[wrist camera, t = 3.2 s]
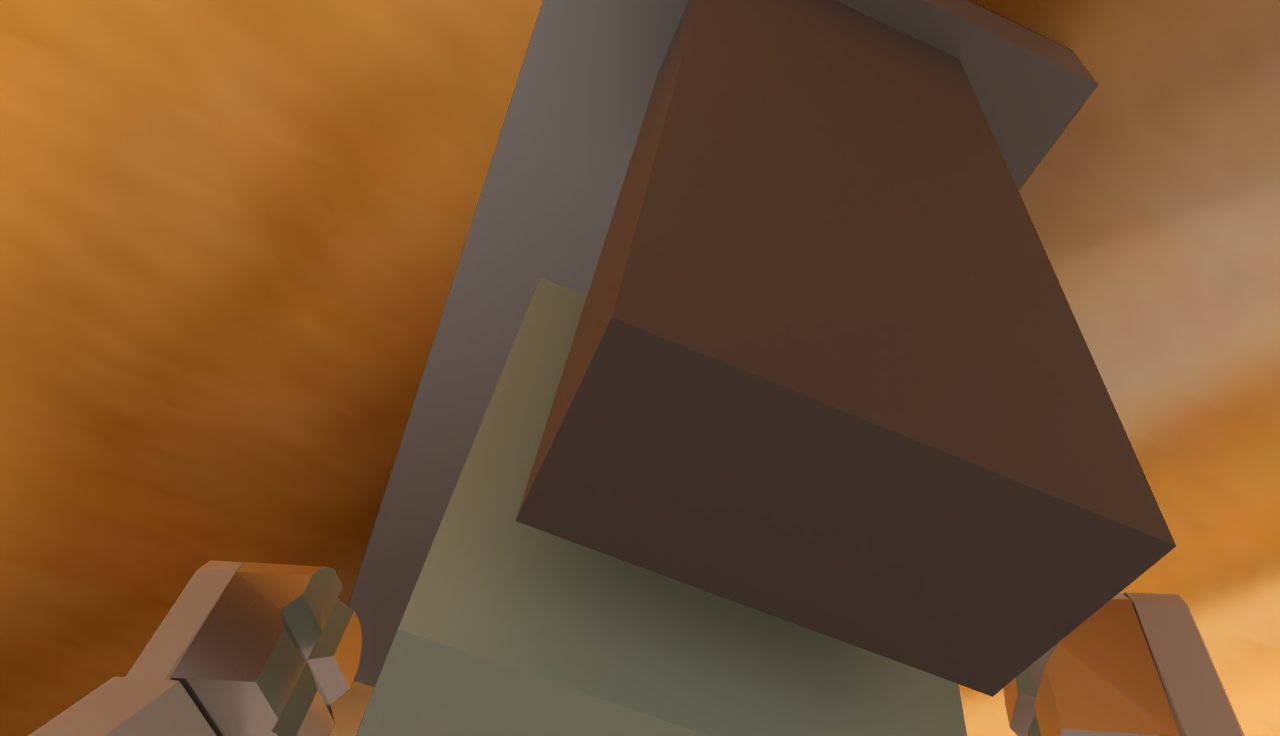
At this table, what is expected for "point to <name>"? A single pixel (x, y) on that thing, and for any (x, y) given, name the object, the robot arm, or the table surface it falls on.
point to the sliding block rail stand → (791, 329)
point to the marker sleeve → (606, 618)
